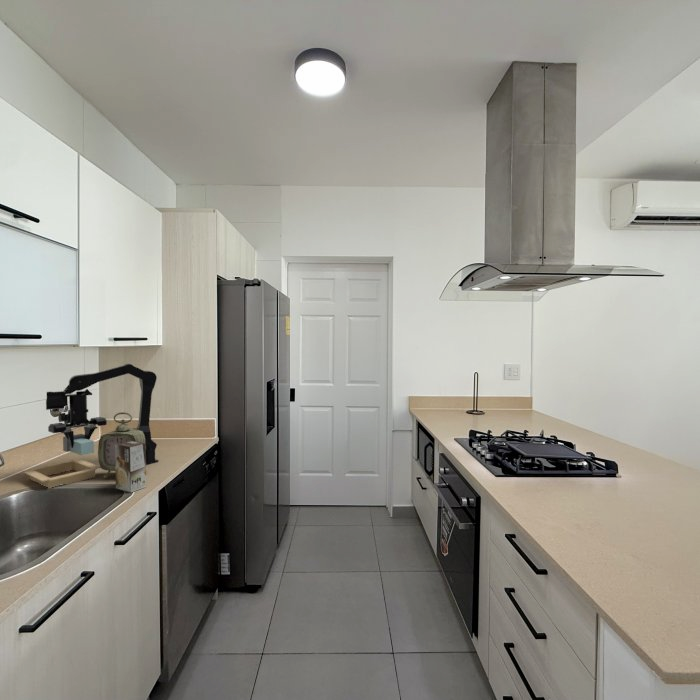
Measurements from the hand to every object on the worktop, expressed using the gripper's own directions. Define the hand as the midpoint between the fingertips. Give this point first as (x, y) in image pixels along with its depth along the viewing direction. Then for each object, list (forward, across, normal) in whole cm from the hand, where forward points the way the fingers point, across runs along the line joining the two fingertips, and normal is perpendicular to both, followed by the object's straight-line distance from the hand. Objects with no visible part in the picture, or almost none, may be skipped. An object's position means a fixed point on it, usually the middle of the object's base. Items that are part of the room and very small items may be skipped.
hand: (79, 446), depth 160 cm
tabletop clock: (+11, -8, +18) cm, 23 cm away
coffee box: (+11, -4, +33) cm, 35 cm away
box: (+2, 0, +1) cm, 2 cm away
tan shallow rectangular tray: (+11, +6, +1) cm, 13 cm away
